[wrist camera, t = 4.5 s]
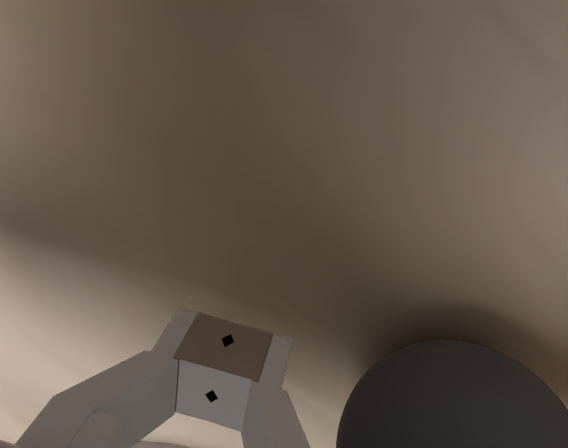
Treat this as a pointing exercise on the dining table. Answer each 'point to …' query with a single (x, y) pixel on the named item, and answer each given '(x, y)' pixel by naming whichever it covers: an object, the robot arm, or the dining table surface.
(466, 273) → the dining table surface
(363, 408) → the black cue ball
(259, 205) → the dining table surface
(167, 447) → the dish
